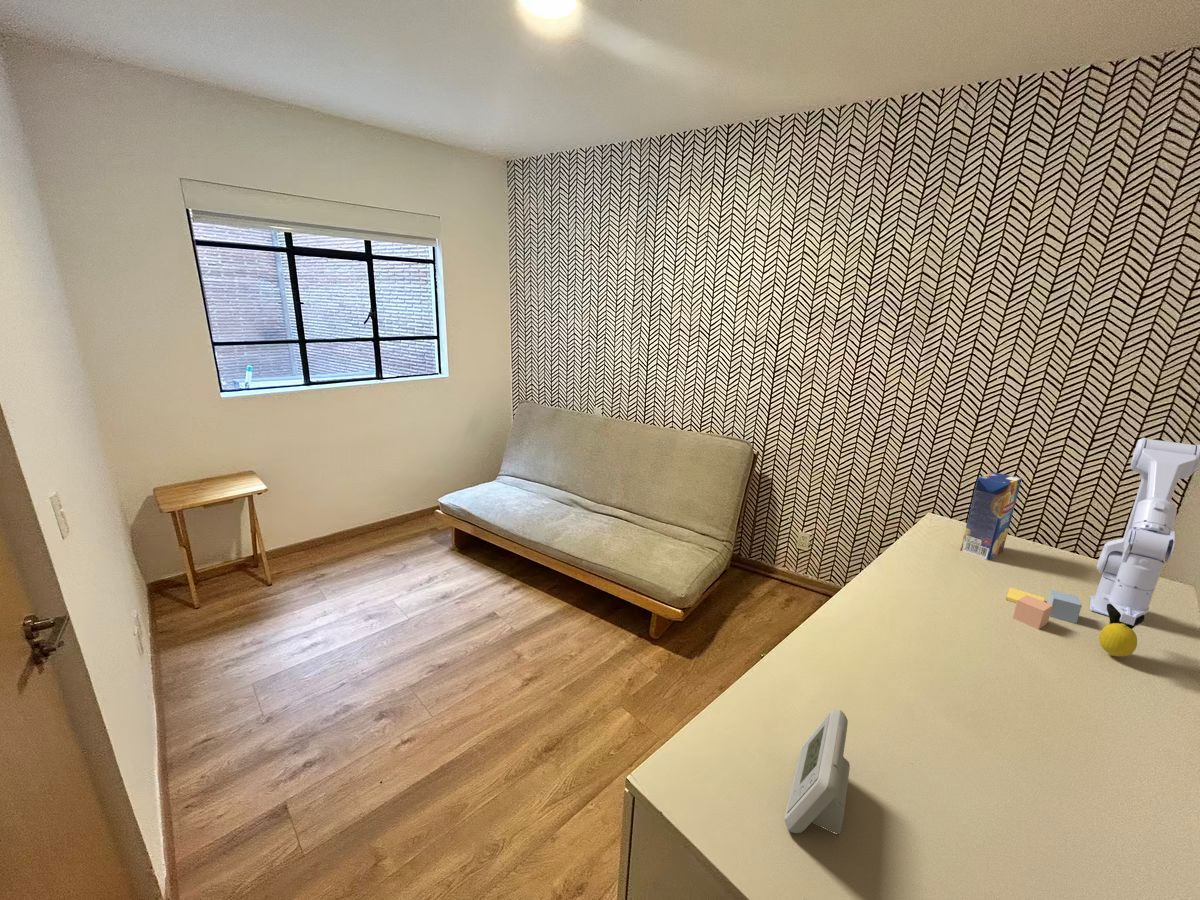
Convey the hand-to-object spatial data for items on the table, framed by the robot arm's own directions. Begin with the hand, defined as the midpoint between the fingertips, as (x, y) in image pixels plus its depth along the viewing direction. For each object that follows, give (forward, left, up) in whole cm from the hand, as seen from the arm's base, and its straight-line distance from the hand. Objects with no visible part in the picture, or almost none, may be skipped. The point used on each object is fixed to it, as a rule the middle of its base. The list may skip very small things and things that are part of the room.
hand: (1115, 639), depth 108 cm
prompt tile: (-11, -16, -2) cm, 20 cm away
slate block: (-9, -9, -3) cm, 13 cm away
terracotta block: (0, -14, -3) cm, 14 cm away
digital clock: (+83, -32, -3) cm, 89 cm away
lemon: (+3, 0, -3) cm, 4 cm away
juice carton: (-38, -29, -3) cm, 48 cm away
